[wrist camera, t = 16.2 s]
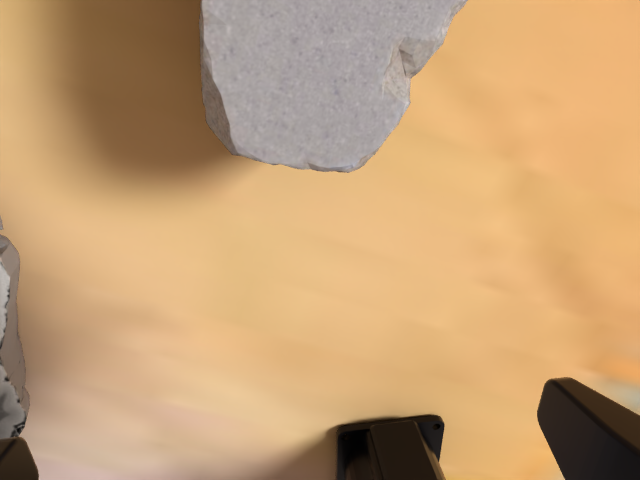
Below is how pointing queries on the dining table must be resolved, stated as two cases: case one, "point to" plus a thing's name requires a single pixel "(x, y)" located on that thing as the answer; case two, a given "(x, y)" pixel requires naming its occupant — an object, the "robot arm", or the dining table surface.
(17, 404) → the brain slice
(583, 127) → the dining table surface
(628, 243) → the dining table surface
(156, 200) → the dining table surface
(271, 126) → the decorative stone
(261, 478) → the dining table surface
